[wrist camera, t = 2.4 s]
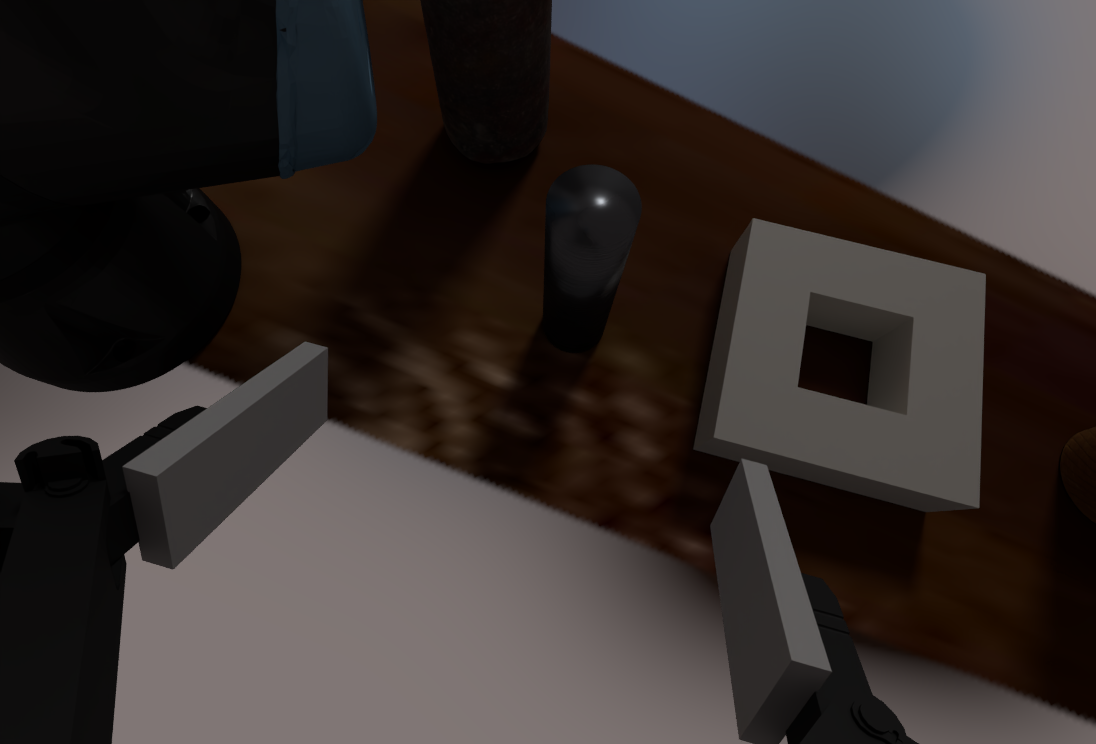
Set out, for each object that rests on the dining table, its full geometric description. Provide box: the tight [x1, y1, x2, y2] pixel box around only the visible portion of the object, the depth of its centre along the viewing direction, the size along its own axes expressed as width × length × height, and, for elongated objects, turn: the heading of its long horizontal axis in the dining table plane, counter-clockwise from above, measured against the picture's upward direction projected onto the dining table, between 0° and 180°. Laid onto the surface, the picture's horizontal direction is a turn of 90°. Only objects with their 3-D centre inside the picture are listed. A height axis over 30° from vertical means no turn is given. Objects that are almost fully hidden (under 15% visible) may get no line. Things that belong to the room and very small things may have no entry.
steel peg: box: [543, 165, 641, 353], centre depth 29 cm, size 4×4×13 cm
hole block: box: [693, 218, 986, 512], centre depth 32 cm, size 14×14×4 cm
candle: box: [420, 0, 552, 164], centre depth 30 cm, size 8×7×20 cm
